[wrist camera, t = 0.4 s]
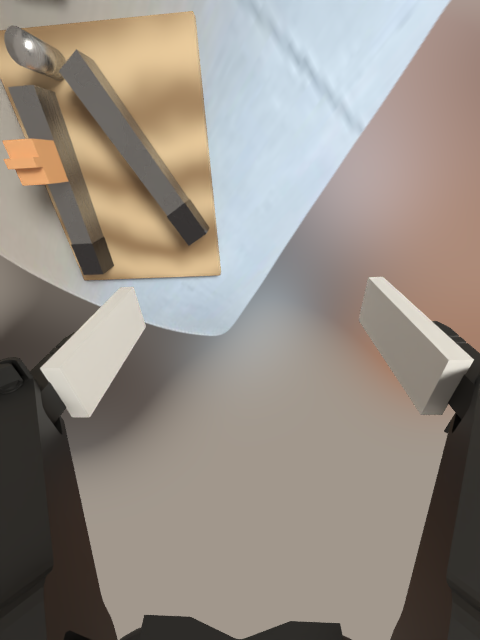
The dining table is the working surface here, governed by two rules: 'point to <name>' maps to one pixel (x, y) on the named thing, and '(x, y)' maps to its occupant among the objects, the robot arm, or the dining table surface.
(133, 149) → the bar
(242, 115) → the dining table surface
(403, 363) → the robot arm
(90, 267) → the tongs fixed
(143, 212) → the board
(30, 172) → the tab
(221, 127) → the dining table surface
